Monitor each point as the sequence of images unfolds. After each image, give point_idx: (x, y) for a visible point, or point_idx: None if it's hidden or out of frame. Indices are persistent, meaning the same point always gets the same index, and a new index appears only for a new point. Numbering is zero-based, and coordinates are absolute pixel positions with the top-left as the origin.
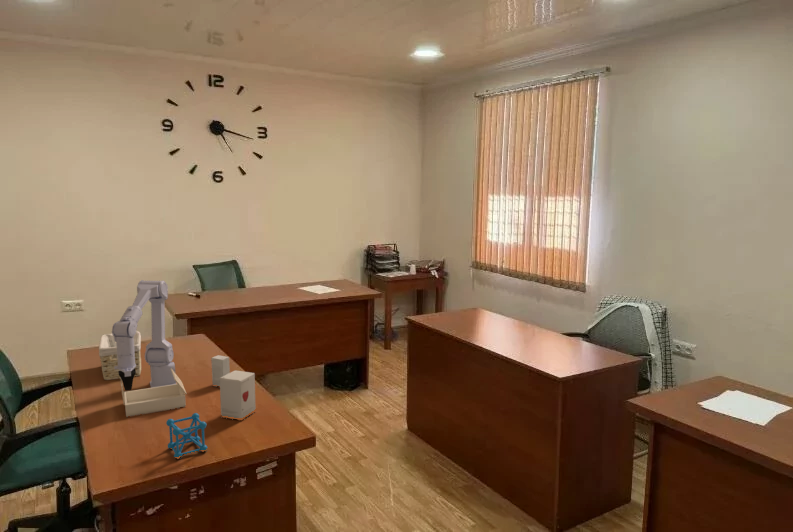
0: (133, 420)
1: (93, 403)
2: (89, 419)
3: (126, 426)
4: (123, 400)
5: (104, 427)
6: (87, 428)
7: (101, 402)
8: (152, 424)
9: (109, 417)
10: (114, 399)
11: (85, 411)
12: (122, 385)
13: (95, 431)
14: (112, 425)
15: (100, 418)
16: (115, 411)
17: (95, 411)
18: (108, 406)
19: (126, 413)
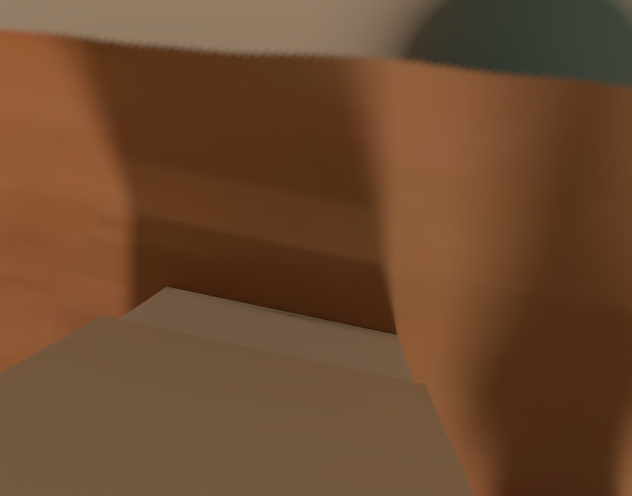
0: (100, 303)
1: (556, 171)
2: (250, 87)
3: (33, 254)
4: (71, 336)
5: (67, 147)
6: (96, 47)
7: (529, 222)
8: (10, 358)
9: (214, 207)
10: (518, 304)
11: (428, 88)
12: (328, 445)
13: (27, 86)
14: (78, 194)
15: (227, 156)
16: (294, 259)
17: (378, 152)
18: (413, 244)
19: (154, 298)
